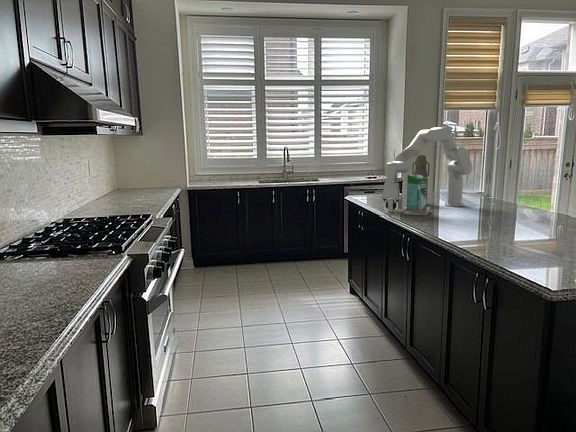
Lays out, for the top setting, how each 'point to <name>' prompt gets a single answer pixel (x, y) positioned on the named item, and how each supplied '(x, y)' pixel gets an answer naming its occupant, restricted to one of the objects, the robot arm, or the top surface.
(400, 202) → the cube sled
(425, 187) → the milk carton
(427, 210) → the carton sled
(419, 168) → the thermos
